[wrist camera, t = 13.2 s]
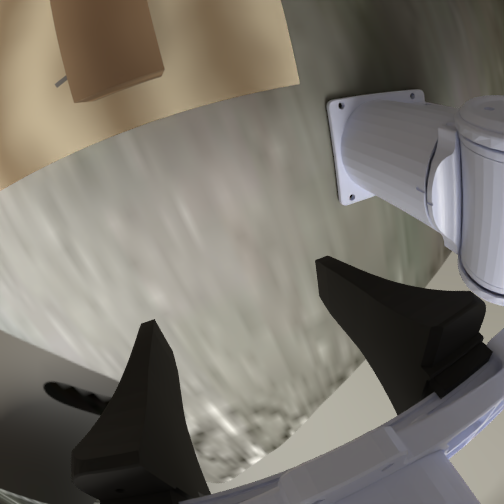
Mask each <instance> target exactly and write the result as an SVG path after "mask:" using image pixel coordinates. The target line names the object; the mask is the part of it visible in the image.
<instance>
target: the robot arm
mask: <svg viewBox="0 0 504 504" xmlns="http://www.w3.org/2000/svg"><path fill="white" fill-rule="evenodd" d="M410 95H411V97H410ZM339 103H341V105H342V107H341V108H340V109H339V107H338V104H339ZM327 113H328V119H329V126H330V132H331V139H332V146H333V154H334V161H335V169H336V177H337V186H338V195H339V202H340V203H341V204H343V205H349V204H352V203H355V202H358V201H361V200H364V199H367V198H370V197H373V196H378V197H380V198H382V199H383V200H385V201H387V202H389V203H391V204H392V205H394V206H396V207H398V208H399V209H401V210H403V211H405V212H406V213H408V214H410V215H411V216H413V217H415V218H416V219H418V220H420V221H421V222H423V223H425V224H426V225H428V226H430V227H431V228H433V229H435V230H436V231H438V232H439V233H441V235H442V236H443V238H444V245H445V246H446V247H447V248H449V249H450V250H452V251H453V252H455V253H456V254H458V269H459V272H460V275H461V277H462V280H463V281H464V283H465V284H466V285H467V287H468V288H469V289H470V290H471V291H472V292H473V293H472V292H471V291H442V290H432V289H425V288H419V287H414V286H409V285H405V284H401V283H397V282H393V281H390V280H387V279H384V278H381V277H378V276H375V275H373V274H370V273H367V272H365V271H362V270H360V269H358V268H355V267H353V266H351V265H348V264H346V263H344V262H342V261H339V260H337V259H335V258H332V257H330V256H325V257H323V258H320V259H317V260H315V263H316V271H317V280H318V288H319V296H320V298H321V300H322V301H323V303H324V305H325V306H326V308H327V309H328V311H329V312H330V314H331V315H332V316H333V318H334V319H335V320H336V321H337V322H338V324H339V325H340V326H341V327H342V329H343V330H344V331H345V332H346V333H347V335H348V336H349V337H350V338H351V339H352V341H353V342H354V343H355V344H356V345H357V347H358V348H359V349H360V351H361V352H362V353H363V355H364V356H365V358H366V360H367V361H368V363H369V364H370V366H371V367H372V369H373V371H374V372H375V374H376V376H377V377H378V379H379V381H380V382H381V384H382V386H383V388H384V390H385V392H386V393H387V395H388V397H389V399H390V401H391V403H392V405H393V407H394V409H395V411H396V413H397V415H398V416H396V417H395V418H393V419H391V420H390V421H388V422H386V423H384V424H383V425H381V426H379V427H377V428H376V429H374V430H371V431H369V432H367V433H365V434H363V435H362V436H360V437H358V438H356V439H354V440H352V441H350V442H348V443H346V444H344V445H342V446H340V447H338V448H336V449H334V450H331V451H329V452H327V453H325V454H323V455H320V456H318V457H316V458H314V459H312V460H309V461H307V462H304V463H302V464H300V465H298V466H296V467H294V468H291V469H289V470H286V471H284V472H281V473H278V474H275V475H273V476H270V477H267V478H264V479H261V480H259V481H255V482H252V483H249V484H246V485H243V486H240V487H236V488H233V489H229V490H226V491H222V492H218V493H215V494H211V493H210V491H209V488H208V486H207V484H206V481H205V479H204V476H203V473H202V471H201V468H200V465H199V463H198V460H197V457H196V454H195V451H194V448H193V445H192V442H191V439H190V435H189V432H188V428H187V425H186V421H185V416H184V410H183V403H182V397H181V390H180V383H179V376H178V370H177V366H176V362H175V358H174V354H173V351H172V349H171V347H170V346H169V344H168V342H167V341H166V339H165V337H164V335H163V334H162V332H161V330H160V328H159V326H158V325H157V323H156V321H155V319H154V320H151V321H148V322H145V323H142V324H141V326H140V328H139V331H138V334H137V338H136V341H135V344H134V347H133V350H132V352H131V355H130V358H129V361H128V363H127V366H126V368H125V371H124V373H123V376H122V378H121V380H120V383H119V385H118V387H117V389H116V391H115V393H114V395H113V397H112V398H111V400H110V402H109V403H108V405H107V407H106V408H105V410H104V411H103V413H102V415H101V416H100V418H99V419H98V420H97V422H96V423H95V425H94V426H93V427H92V429H91V430H90V431H89V432H88V434H87V435H86V436H85V437H84V438H83V439H82V441H81V442H80V443H79V444H78V445H77V446H76V447H75V448H74V449H73V450H72V457H71V473H72V474H71V476H72V483H73V484H74V485H75V486H76V487H77V488H78V489H80V490H81V491H83V492H85V493H87V494H89V495H90V496H93V497H94V498H96V499H98V500H100V504H480V502H479V501H478V500H477V498H476V497H475V495H474V494H473V493H472V491H471V490H470V488H469V487H468V486H467V484H466V483H465V482H464V480H463V479H462V477H461V476H460V474H459V473H458V472H457V470H456V469H455V468H454V466H453V465H452V463H451V462H450V461H449V458H451V457H452V456H453V455H454V454H456V453H457V452H458V451H459V450H460V449H462V448H463V447H464V446H465V445H466V444H467V443H469V442H470V441H471V440H472V439H473V438H474V437H475V436H476V435H477V434H478V433H480V432H481V431H482V430H483V429H484V428H485V427H486V426H487V425H488V424H489V423H490V422H491V421H492V420H493V419H494V418H495V417H496V416H497V415H498V414H499V413H500V412H501V411H502V410H503V409H504V328H503V329H502V330H501V331H500V332H499V333H498V334H497V335H495V336H494V337H493V338H492V339H491V340H490V341H489V342H488V344H487V345H485V344H484V343H483V342H482V341H483V336H482V335H481V334H480V333H479V330H480V328H481V325H482V322H483V319H484V316H485V312H486V305H485V303H484V302H483V301H482V300H481V299H480V298H482V299H484V300H486V301H488V302H491V303H494V304H497V305H502V306H504V95H489V96H480V97H476V98H472V99H470V100H468V101H466V102H465V103H464V105H463V106H462V107H460V108H455V107H450V106H445V105H440V104H435V103H430V102H425V98H424V93H423V91H422V90H419V89H413V90H402V91H392V92H383V93H374V94H366V95H359V96H352V97H345V98H339V99H333V100H330V101H329V102H328V103H327ZM351 195H352V198H351V199H349V198H350V196H351ZM474 293H475V294H476V295H478V296H479V297H480V298H479V297H477V296H476V295H475V294H474Z"/></svg>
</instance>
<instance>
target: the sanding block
mask: <svg viewBox="0 0 504 504" xmlns="http://www.w3.org/2000/svg"><path fill="white" fill-rule="evenodd" d="M50 5H51V10H52V16H53V21H54V26H55V31H56V35H57V40H58V44H59V49H60V53H61V57H62V61H63V65H64V69H65V73H66V76H67V80H68V84H69V87H70V91H71V94H72V98H73V101H74V103H81V102H93V101H96V100H99V99H101V98H104V97H106V96H109V95H111V94H114V93H116V92H119V91H122V90H124V89H127V88H130V87H133V86H135V85H138V84H141V83H144V82H147V81H150V80H153V79H156V78H160V77H162V74H163V72H164V70H165V68H164V65H163V61H162V57H161V53H160V50H159V46H158V42H157V38H156V34H155V30H154V26H153V22H152V18H151V14H150V10H149V6H148V2H147V0H50Z"/></svg>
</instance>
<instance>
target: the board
mask: <svg viewBox="0 0 504 504" xmlns="http://www.w3.org/2000/svg"><path fill="white" fill-rule="evenodd" d="M147 2H148V6H149V10H150V14H151V18H152V22H153V26H154V30H155V34H156V38H157V42H158V46H159V50H160V53H161V57H162V61H163V65H164V68H165V70H164V72H163V74H162V77H160V78H156V79H153V80H150V81H147V82H144V83H141V84H138V85H135V86H133V87H130V88H127V89H124V90H122V91H119V92H116V93H114V94H111V95H109V96H106V97H104V98H101V99H99V100H96V101H93V102H81V103H74V101H73V98H72V94H71V91H70V87H69V84H68V80H67V76H66V73H65V69H64V65H63V61H62V57H61V53H60V49H59V44H58V40H57V35H56V31H55V26H54V21H53V16H52V10H51V5H50V0H0V191H1V190H2V189H4V188H6V187H8V186H9V185H11V184H13V183H15V182H17V181H18V180H20V179H22V178H24V177H26V176H28V175H29V174H31V173H33V172H35V171H37V170H39V169H41V168H43V167H45V166H47V165H49V164H51V163H53V162H55V161H57V160H59V159H61V158H64V157H66V156H68V155H70V154H72V153H74V152H77V151H79V150H81V149H83V148H86V147H88V146H90V145H93V144H95V143H97V142H100V141H102V140H105V139H107V138H109V137H112V136H115V135H117V134H120V133H122V132H125V131H127V130H130V129H133V128H136V127H138V126H141V125H144V124H147V123H150V122H152V121H155V120H158V119H161V118H164V117H167V116H171V115H174V114H177V113H180V112H183V111H187V110H190V109H193V108H197V107H200V106H204V105H207V104H211V103H215V102H219V101H222V100H226V99H230V98H234V97H238V96H243V95H247V94H251V93H256V92H260V91H265V90H270V89H275V88H280V87H286V86H291V85H297V84H300V82H299V77H298V72H297V67H296V62H295V58H294V53H293V49H292V44H291V40H290V36H289V32H288V27H287V23H286V19H285V15H284V11H283V7H282V3H281V0H147Z"/></svg>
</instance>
